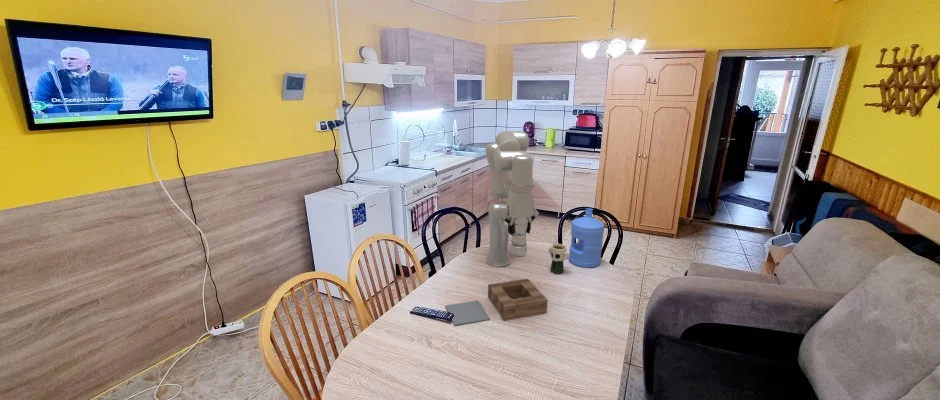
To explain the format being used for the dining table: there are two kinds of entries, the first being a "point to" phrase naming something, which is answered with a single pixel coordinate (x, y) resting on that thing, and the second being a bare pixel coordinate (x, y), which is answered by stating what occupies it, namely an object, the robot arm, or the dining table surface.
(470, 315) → the pad
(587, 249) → the water jug
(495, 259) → the robot arm
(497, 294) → the bore block
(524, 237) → the plastic bottle
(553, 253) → the character mug
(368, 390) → the dining table surface
